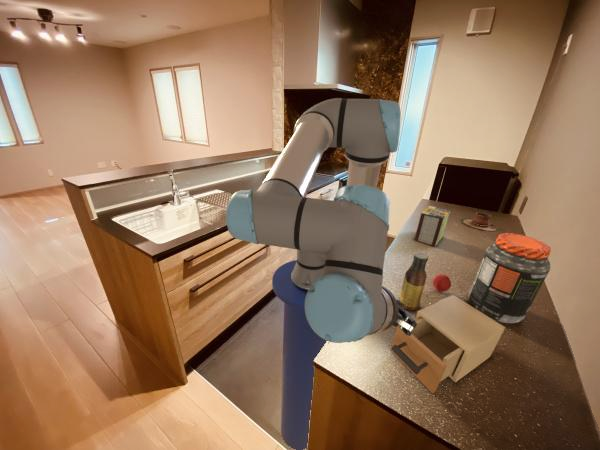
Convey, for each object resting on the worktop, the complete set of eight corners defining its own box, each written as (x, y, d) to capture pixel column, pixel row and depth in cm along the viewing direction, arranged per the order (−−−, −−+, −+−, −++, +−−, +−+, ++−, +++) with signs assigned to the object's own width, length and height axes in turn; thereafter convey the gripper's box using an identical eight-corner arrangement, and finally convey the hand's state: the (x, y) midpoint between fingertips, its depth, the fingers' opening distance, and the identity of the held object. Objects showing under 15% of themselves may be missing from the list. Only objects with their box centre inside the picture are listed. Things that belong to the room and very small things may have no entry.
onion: (430, 284, 95) (436, 267, 92) (447, 289, 93) (453, 271, 90) (430, 293, 90) (436, 275, 87) (448, 298, 88) (455, 280, 85)
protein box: (442, 237, 135) (450, 210, 129) (435, 246, 124) (443, 218, 118) (422, 231, 141) (429, 205, 135) (413, 239, 130) (420, 212, 124)
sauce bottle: (407, 296, 88) (421, 248, 80) (422, 308, 83) (438, 257, 75) (393, 301, 85) (406, 251, 77) (408, 313, 80) (423, 262, 72)
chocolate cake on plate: (471, 217, 165) (475, 207, 162) (502, 227, 151) (506, 217, 149) (457, 222, 156) (461, 211, 153) (488, 233, 143) (493, 222, 140)
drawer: (420, 402, 54) (430, 375, 51) (378, 356, 64) (384, 331, 61) (469, 367, 63) (481, 341, 59) (425, 331, 73) (433, 307, 69)
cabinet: (455, 382, 60) (469, 351, 55) (408, 339, 71) (417, 311, 66) (490, 356, 67) (505, 327, 62) (442, 321, 78) (452, 294, 73)
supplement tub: (513, 301, 88) (546, 237, 78) (530, 333, 75) (572, 260, 65) (463, 288, 94) (487, 226, 84) (470, 315, 81) (500, 246, 70)
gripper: (421, 313, 35) (433, 310, 55) (348, 265, 43) (381, 277, 62) (394, 357, 36) (415, 339, 55) (326, 301, 43) (365, 302, 62)
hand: (397, 306), depth 59 cm, fingers closed
